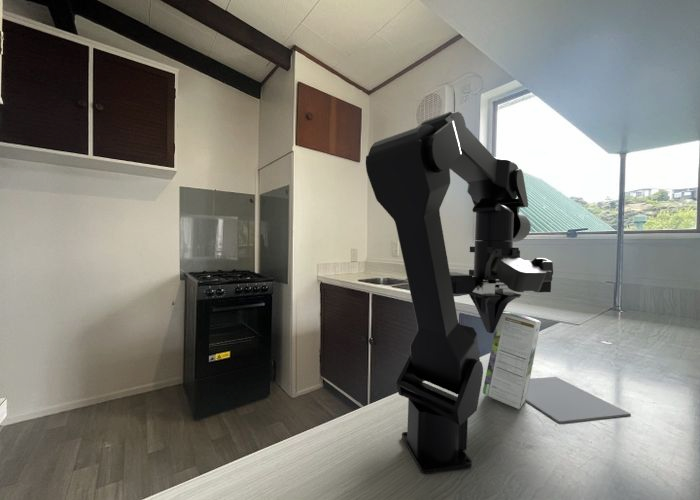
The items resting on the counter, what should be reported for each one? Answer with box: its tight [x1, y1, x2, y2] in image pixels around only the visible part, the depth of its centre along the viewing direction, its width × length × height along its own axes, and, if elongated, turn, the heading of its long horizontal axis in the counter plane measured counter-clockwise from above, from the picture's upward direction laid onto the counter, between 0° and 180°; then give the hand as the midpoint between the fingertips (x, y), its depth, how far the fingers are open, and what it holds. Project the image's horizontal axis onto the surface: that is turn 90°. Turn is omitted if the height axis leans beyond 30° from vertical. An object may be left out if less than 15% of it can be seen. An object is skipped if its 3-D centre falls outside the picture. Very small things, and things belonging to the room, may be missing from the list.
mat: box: [525, 376, 632, 424], centre depth 50 cm, size 14×13×1 cm
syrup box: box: [482, 311, 542, 410], centre depth 48 cm, size 6×6×14 cm
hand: (490, 332), depth 47 cm, fingers closed
